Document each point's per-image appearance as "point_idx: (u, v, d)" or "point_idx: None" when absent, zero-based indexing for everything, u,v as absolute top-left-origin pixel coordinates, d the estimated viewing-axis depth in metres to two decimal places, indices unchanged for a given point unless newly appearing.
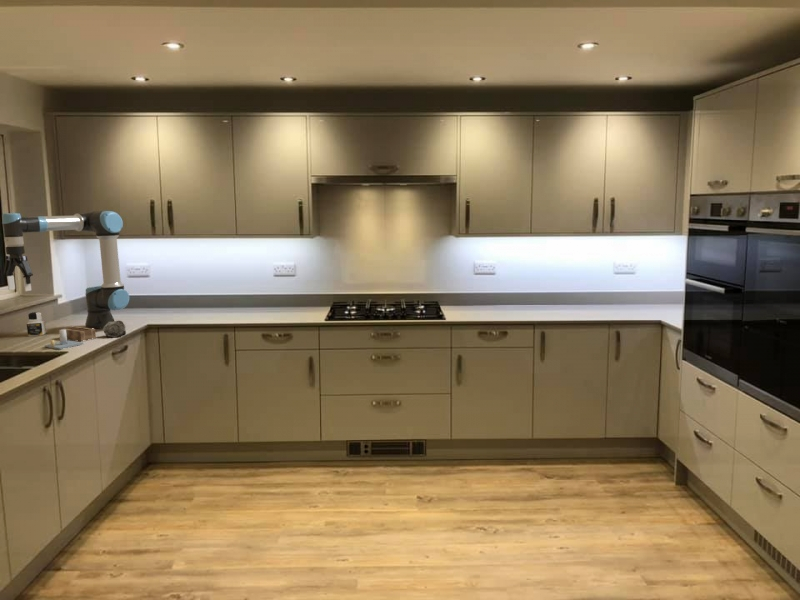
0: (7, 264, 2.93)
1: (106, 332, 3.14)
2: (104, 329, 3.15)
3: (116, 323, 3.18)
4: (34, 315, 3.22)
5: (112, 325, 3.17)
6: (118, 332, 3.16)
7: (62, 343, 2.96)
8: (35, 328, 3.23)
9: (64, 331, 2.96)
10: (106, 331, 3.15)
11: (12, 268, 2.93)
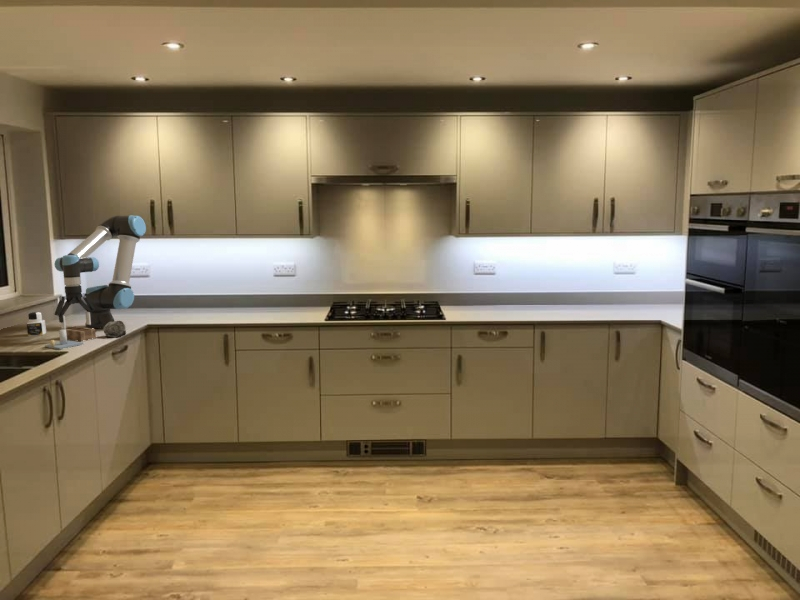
0: (85, 301, 3.17)
1: (106, 332, 3.14)
2: (104, 329, 3.15)
3: (116, 323, 3.18)
4: (34, 315, 3.22)
5: (112, 325, 3.17)
6: (118, 332, 3.15)
7: (62, 343, 2.96)
8: (35, 328, 3.23)
9: (64, 331, 2.96)
10: (106, 331, 3.14)
11: (82, 305, 3.15)
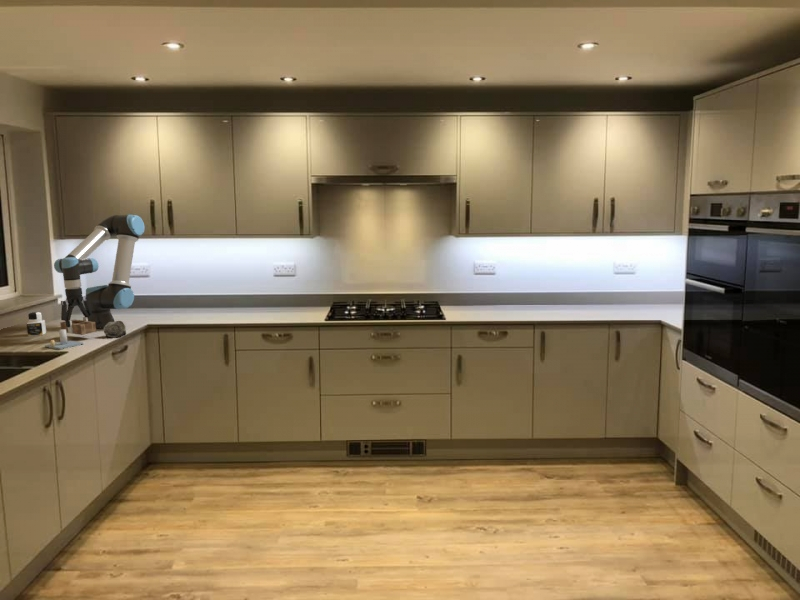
0: (84, 304, 3.17)
1: (106, 332, 3.14)
2: (104, 329, 3.15)
3: (116, 323, 3.18)
4: (34, 315, 3.22)
5: (112, 325, 3.17)
6: (118, 332, 3.15)
7: (62, 343, 2.96)
8: (35, 328, 3.23)
9: (64, 331, 2.96)
10: (106, 331, 3.14)
11: (81, 309, 3.15)
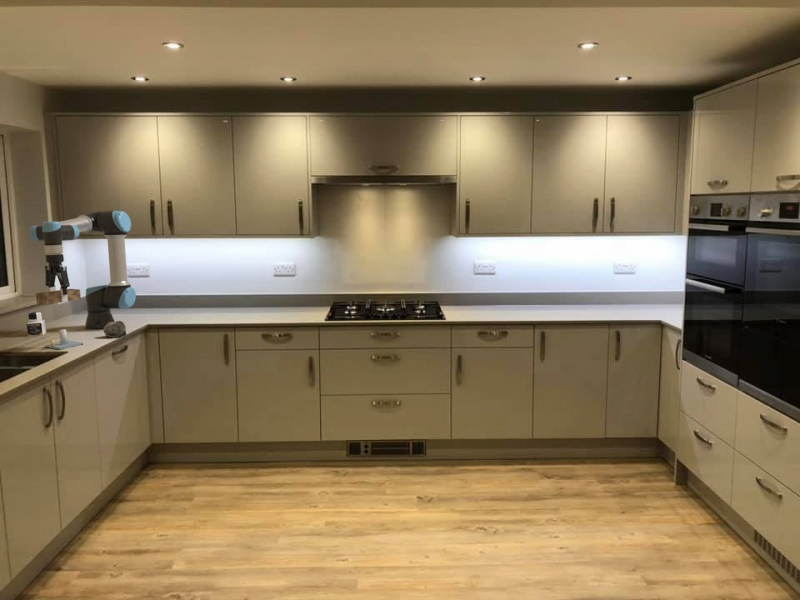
0: None
1: (106, 332, 3.14)
2: (104, 329, 3.14)
3: (116, 323, 3.17)
4: (34, 315, 3.22)
5: (112, 325, 3.16)
6: (118, 332, 3.15)
7: (62, 343, 2.96)
8: (35, 328, 3.23)
9: (64, 331, 2.96)
10: (106, 331, 3.14)
11: None
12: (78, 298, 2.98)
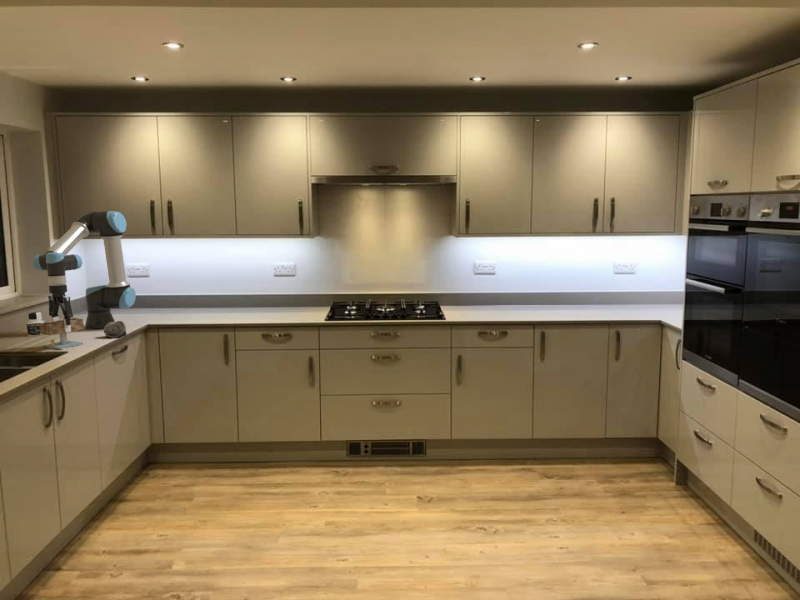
0: None
1: (106, 332, 3.13)
2: (104, 329, 3.14)
3: (116, 323, 3.17)
4: (34, 315, 3.22)
5: (112, 325, 3.16)
6: (118, 333, 3.14)
7: (62, 343, 2.96)
8: (35, 328, 3.23)
9: None
10: (106, 331, 3.14)
11: None
12: (81, 327, 3.01)
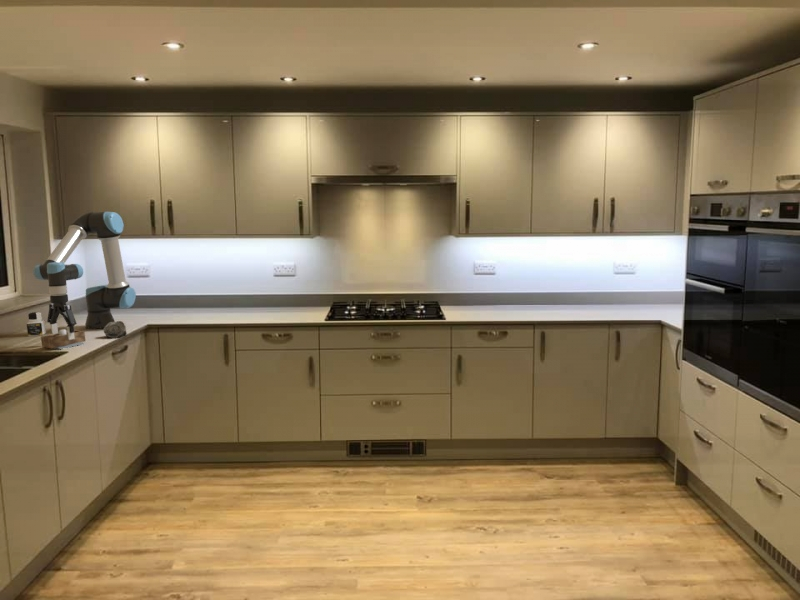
0: None
1: (106, 332, 3.13)
2: (104, 329, 3.14)
3: (117, 324, 3.17)
4: (34, 315, 3.22)
5: (112, 326, 3.16)
6: (118, 333, 3.14)
7: None
8: (35, 328, 3.23)
9: (64, 331, 2.96)
10: (106, 331, 3.13)
11: None
12: (83, 340, 3.02)
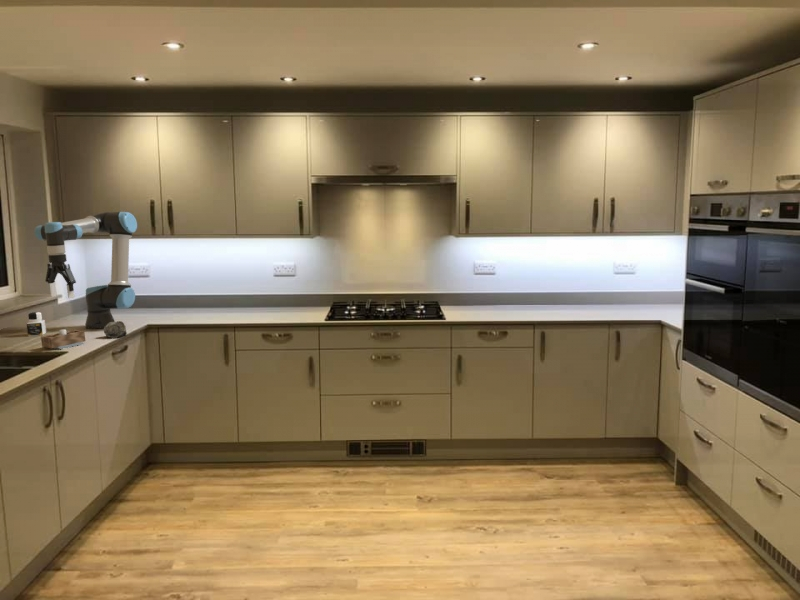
0: None
1: (106, 333, 3.13)
2: (104, 330, 3.14)
3: (117, 324, 3.17)
4: (34, 315, 3.22)
5: (112, 326, 3.16)
6: (118, 333, 3.14)
7: None
8: (35, 328, 3.23)
9: (64, 331, 2.96)
10: (106, 332, 3.13)
11: None
12: (83, 340, 3.02)
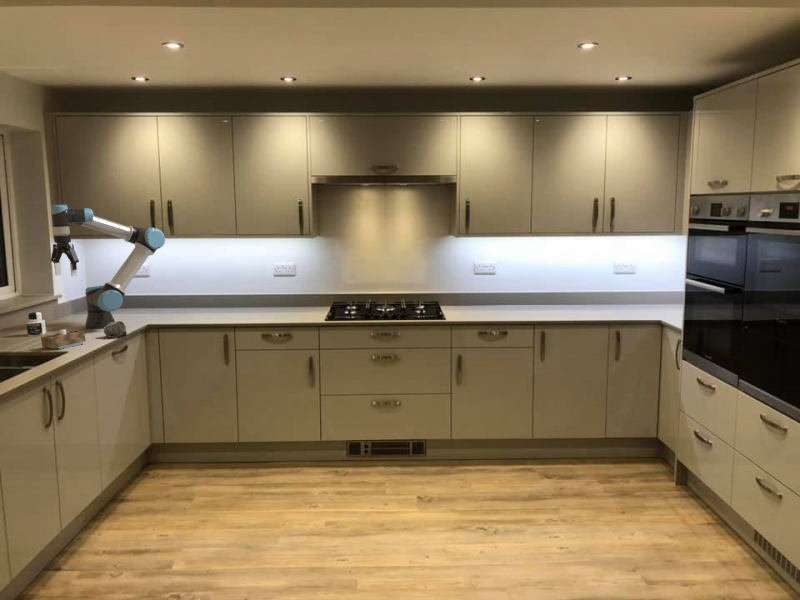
0: None
1: (106, 333, 3.13)
2: (104, 330, 3.14)
3: (117, 324, 3.16)
4: (34, 315, 3.22)
5: (113, 326, 3.15)
6: (118, 333, 3.13)
7: None
8: (35, 328, 3.23)
9: (64, 331, 2.96)
10: (106, 332, 3.13)
11: None
12: (83, 340, 3.02)
